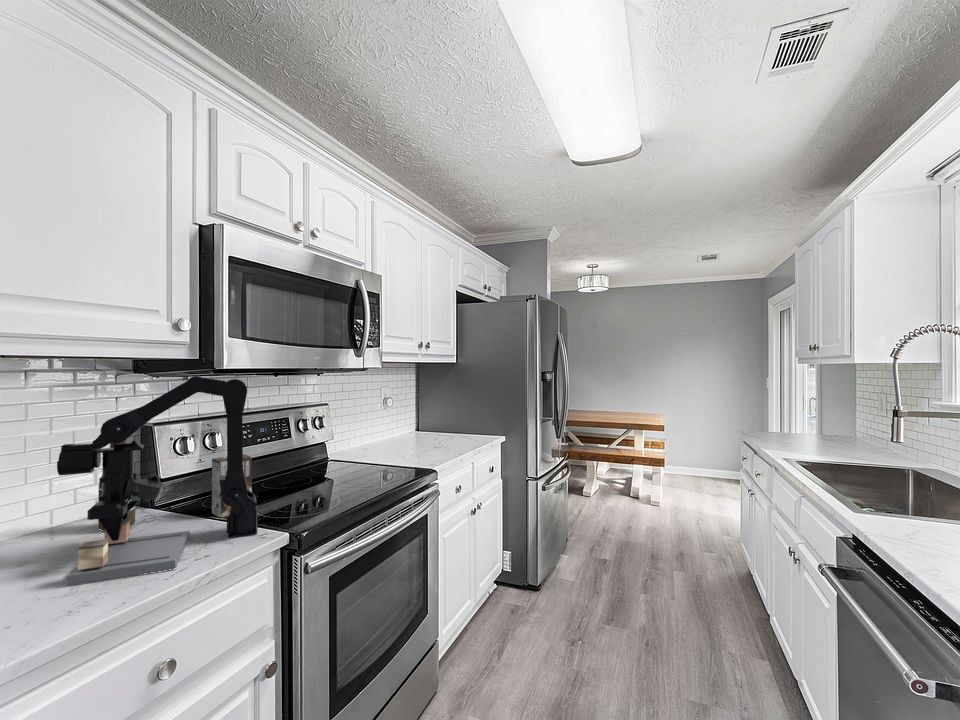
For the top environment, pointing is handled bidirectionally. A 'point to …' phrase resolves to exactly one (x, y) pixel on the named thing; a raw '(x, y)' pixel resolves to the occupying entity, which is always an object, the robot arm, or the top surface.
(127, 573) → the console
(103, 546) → the block
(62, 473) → the robot arm
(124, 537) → the block
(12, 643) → the top surface
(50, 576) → the top surface
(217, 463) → the coffee box
